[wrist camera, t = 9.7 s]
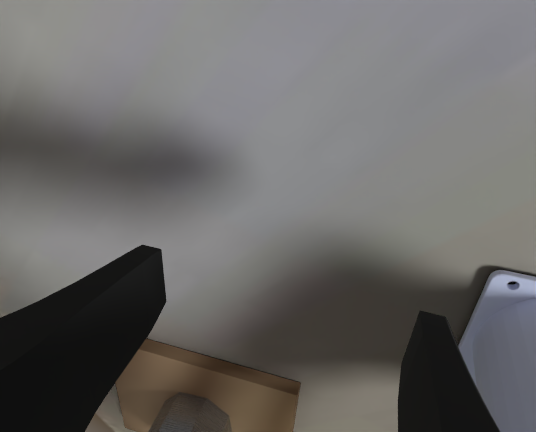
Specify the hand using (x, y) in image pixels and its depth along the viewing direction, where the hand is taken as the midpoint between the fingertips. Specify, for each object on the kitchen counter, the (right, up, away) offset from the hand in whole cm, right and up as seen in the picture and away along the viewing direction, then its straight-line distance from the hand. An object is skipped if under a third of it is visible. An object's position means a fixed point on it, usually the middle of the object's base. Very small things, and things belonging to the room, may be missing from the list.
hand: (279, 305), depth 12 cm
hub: (-6, -13, +21) cm, 25 cm away
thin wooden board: (-5, -13, +22) cm, 26 cm away
